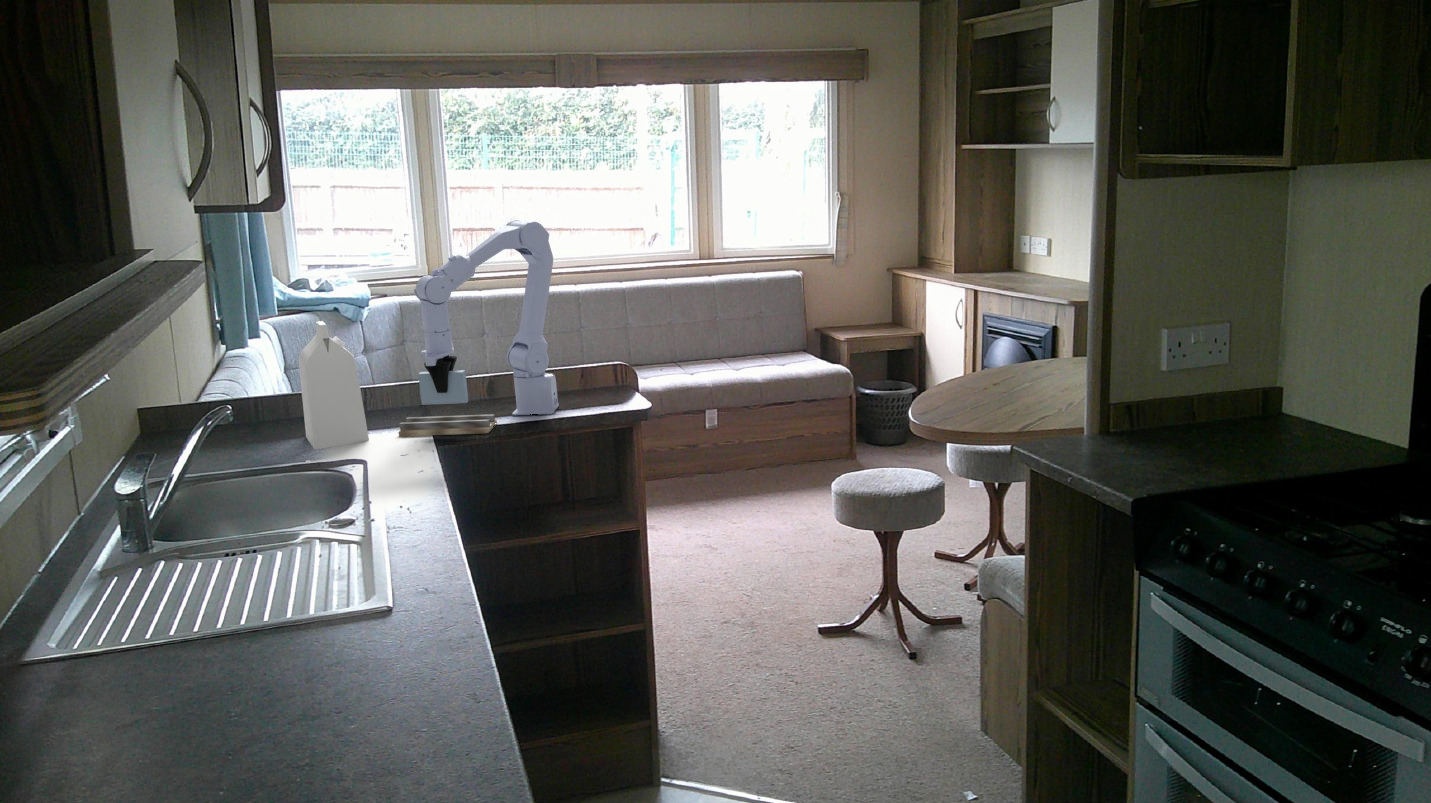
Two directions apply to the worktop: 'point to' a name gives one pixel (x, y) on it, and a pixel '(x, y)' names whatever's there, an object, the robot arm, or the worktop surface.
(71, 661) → the worktop surface
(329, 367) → the milk
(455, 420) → the track board
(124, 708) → the worktop surface
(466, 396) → the door panel
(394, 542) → the worktop surface
